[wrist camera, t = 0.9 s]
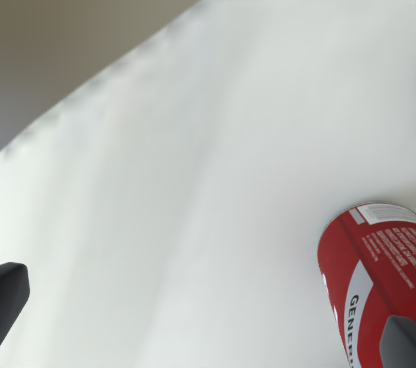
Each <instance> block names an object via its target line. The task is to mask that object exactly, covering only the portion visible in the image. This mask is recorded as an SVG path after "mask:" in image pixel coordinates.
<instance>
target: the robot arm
mask: <svg viewBox="0 0 416 368" xmlns="http://www.w3.org/2000/svg"><path fill="white" fill-rule="evenodd" d="M29 295H30V287H29V278H28V270H27V267H26V265H24V264H21V263H14V262H8V263H5V264H2V265H0V345H1V344H2V342H3V340H4V339H5V337H6V335H7V334H8V332H9V330H10V329H11V327H12V325H13V324H14V322H15V320H16V319H17V317H18V315H19V314H20V312H21V311H22V309H23V307H24V306H25V304H26V302H27V300H28V298H29ZM380 355H381V359H382V363H383V367H384V368H416V322H414V321H413V320H411V319H410V318H408V317H402V316H395V315H392V316H389V317H388V319H387V321H386V324H385V328H384V331H383V334H382V337H381V340H380Z"/></svg>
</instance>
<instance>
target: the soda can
mask: <svg viewBox="0 0 416 368" xmlns="http://www.w3.org/2000/svg"><path fill="white" fill-rule="evenodd" d="M317 257H318V263H319V267H320V270H321V274H322V277H323V280H324V283H325V287H326V290H327V293H328V296H329V300H330V303H331V306H332V309H333V312H334V316H335V319H336V322H337V325H338V329H339V332H340V335H341V338H342V342H343V345H344V348H345V351H346V354H347V358H348V361H349V364H350V367H351V368H384V367H383V363H382V359H381V355H380V340H381V337H382V334H383V331H384V328H385V324H386V321H387V319H388V317H389V316H392V315H395V316H402V317H408V318H410V319H411V320H413V321H414V322H416V214H415V213H414V212H412V211H411V210H409V209H407V208H405V207H403V206H400V205H398V204H394V203H389V202H379V201H378V202H366V203H361V204H358V205H355V206H352V207H350V208H348V209H346V210H344V211H343V212H341V213H339V214H338V215H337V216H336V217H334V218H333V219H332V220H331V221H330V222H329V224H328V225H327V226H326V228H325V229H324V231H323V233H322V235H321V237H320V240H319V244H318V250H317Z"/></svg>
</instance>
